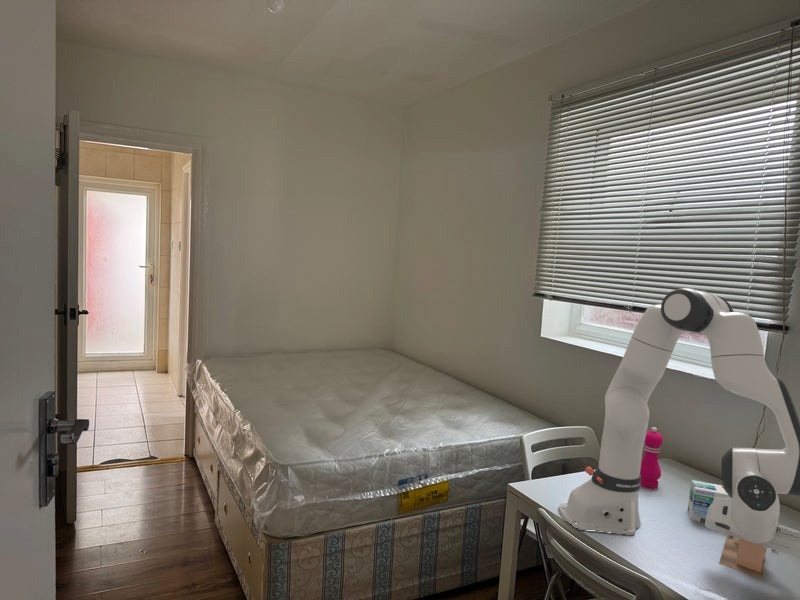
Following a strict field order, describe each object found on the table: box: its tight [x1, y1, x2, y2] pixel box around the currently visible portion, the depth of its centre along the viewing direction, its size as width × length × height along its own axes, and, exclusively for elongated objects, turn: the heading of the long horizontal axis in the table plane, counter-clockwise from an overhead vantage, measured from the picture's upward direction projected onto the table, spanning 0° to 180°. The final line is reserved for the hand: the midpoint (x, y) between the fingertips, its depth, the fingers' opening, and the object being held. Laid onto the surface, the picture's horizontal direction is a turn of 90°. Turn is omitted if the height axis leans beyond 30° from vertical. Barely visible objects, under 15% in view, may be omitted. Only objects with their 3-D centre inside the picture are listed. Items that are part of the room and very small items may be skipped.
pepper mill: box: [640, 426, 664, 490], centre depth 179 cm, size 7×7×20 cm
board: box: [718, 538, 768, 580], centre depth 139 cm, size 19×9×4 cm, turn 143°
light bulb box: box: [687, 479, 732, 524], centre depth 156 cm, size 11×7×11 cm, turn 70°
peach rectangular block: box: [736, 539, 765, 572], centre depth 135 cm, size 5×5×8 cm
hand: (752, 543), depth 133 cm, fingers open, 8 cm apart
